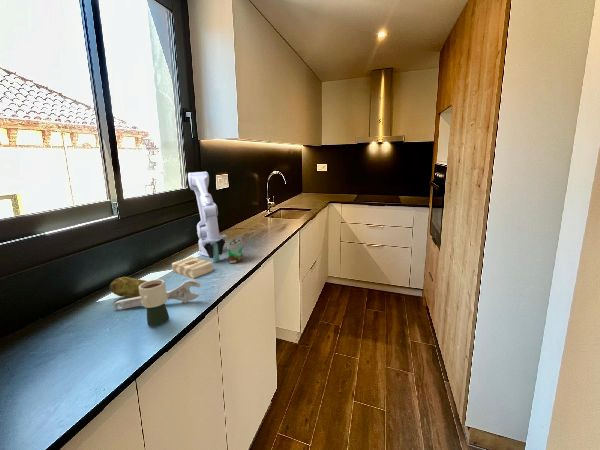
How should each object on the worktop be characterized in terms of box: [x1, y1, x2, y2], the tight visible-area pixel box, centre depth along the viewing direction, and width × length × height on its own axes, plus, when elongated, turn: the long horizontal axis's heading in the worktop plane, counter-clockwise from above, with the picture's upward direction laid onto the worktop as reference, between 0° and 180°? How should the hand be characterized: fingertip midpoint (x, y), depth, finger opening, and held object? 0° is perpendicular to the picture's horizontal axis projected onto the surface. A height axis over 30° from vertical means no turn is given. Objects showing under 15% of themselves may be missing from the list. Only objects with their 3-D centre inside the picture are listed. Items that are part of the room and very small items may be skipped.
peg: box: [211, 243, 221, 263], centre depth 141 cm, size 3×3×9 cm
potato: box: [109, 276, 148, 299], centre depth 107 cm, size 8×13×8 cm, turn 98°
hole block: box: [171, 256, 214, 280], centre depth 130 cm, size 16×10×4 cm, turn 53°
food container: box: [226, 237, 244, 265], centre depth 140 cm, size 12×6×10 cm, turn 179°
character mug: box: [139, 279, 170, 327], centre depth 88 cm, size 11×7×13 cm, turn 4°
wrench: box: [113, 279, 202, 311], centre depth 100 cm, size 8×2×30 cm
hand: (215, 256), depth 141 cm, fingers open, 5 cm apart
